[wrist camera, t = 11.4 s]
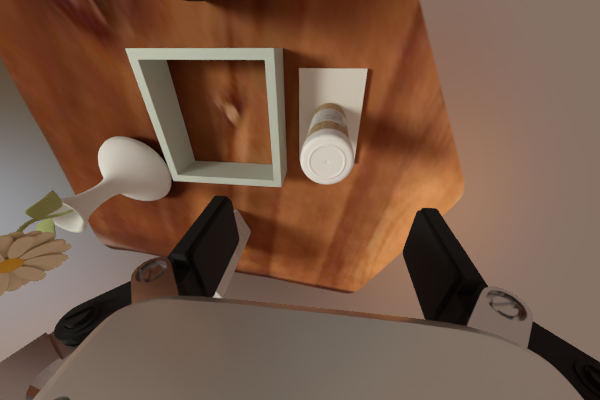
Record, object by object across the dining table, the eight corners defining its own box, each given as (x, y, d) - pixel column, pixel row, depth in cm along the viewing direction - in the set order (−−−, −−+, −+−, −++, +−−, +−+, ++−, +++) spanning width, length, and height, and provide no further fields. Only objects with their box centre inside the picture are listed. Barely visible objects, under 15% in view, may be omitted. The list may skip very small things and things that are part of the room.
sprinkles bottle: (338, 140, 31) (342, 192, 20) (307, 131, 31) (293, 178, 20) (351, 107, 28) (364, 145, 17) (317, 96, 28) (307, 127, 17)
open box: (155, 48, 28) (125, 48, 24) (282, 48, 26) (273, 48, 22) (191, 166, 37) (173, 180, 33) (287, 170, 35) (281, 187, 31)
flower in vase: (156, 204, 42) (-8, 351, 22) (98, 159, 38) (-173, 290, 18) (195, 167, 37) (23, 318, 16) (132, 110, 33) (-209, 215, 12)
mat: (299, 67, 27) (299, 68, 27) (367, 68, 26) (367, 68, 26) (299, 159, 34) (299, 161, 33) (353, 162, 33) (353, 163, 33)
